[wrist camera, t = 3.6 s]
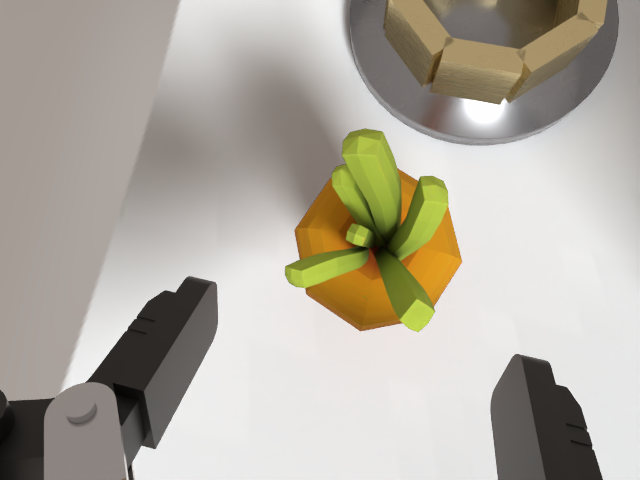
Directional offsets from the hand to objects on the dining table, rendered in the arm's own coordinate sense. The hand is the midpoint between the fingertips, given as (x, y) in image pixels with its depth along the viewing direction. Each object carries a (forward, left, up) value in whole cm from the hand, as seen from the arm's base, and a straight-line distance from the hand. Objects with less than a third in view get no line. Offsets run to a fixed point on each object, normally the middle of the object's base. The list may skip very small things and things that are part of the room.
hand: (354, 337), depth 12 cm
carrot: (0, -3, -11) cm, 11 cm away
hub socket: (-3, -18, -11) cm, 21 cm away
